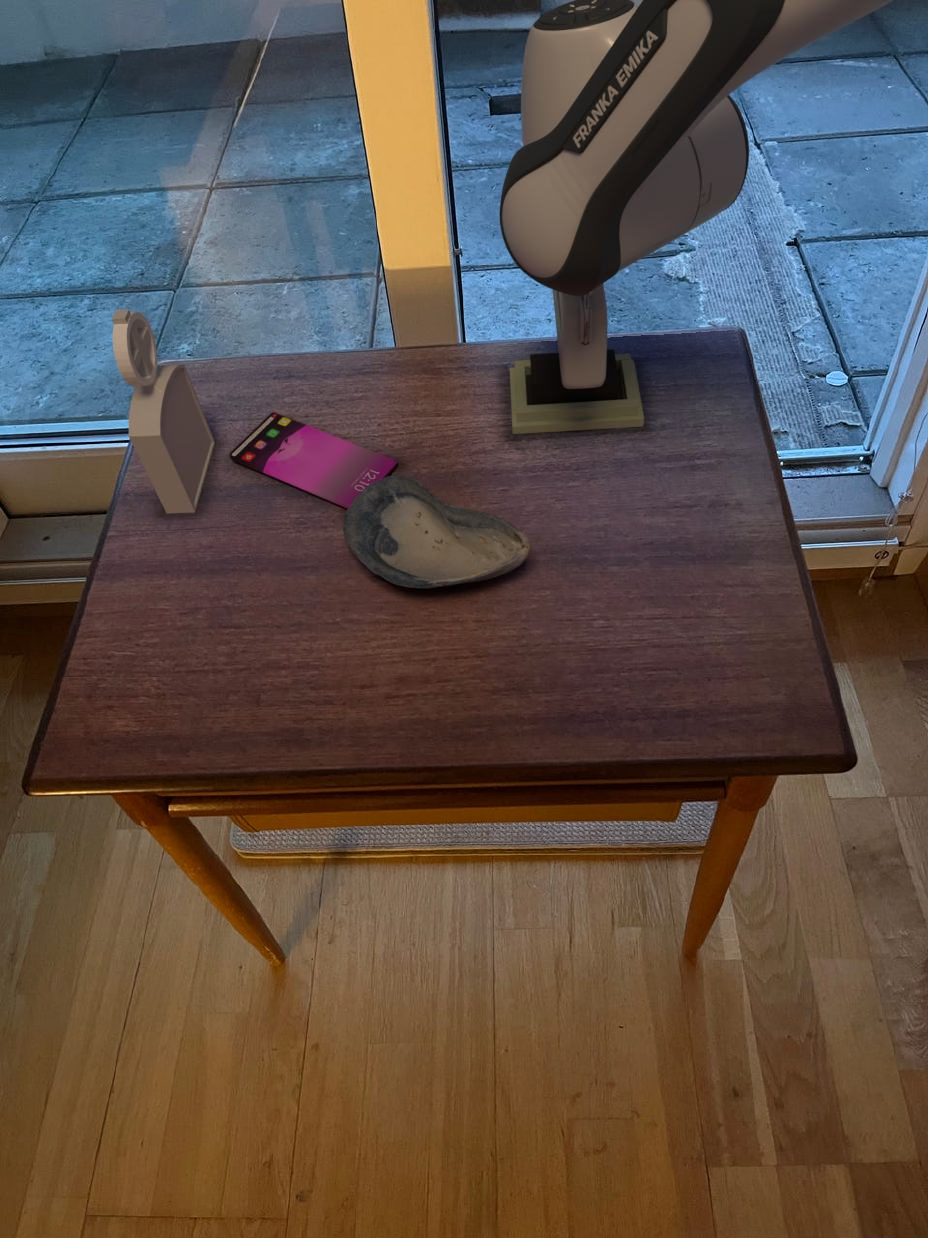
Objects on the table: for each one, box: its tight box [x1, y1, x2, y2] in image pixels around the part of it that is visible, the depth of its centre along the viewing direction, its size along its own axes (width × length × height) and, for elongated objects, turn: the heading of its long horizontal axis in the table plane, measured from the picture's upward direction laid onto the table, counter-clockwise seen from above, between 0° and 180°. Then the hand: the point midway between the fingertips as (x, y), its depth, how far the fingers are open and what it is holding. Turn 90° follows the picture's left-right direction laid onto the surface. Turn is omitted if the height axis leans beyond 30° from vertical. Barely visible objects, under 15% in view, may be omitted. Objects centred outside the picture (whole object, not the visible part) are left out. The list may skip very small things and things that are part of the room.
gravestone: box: [111, 308, 216, 515], centre depth 80 cm, size 3×9×18 cm, turn 178°
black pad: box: [529, 348, 619, 405], centre depth 87 cm, size 8×4×3 cm, turn 90°
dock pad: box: [509, 352, 645, 435], centre depth 89 cm, size 12×9×2 cm
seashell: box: [342, 475, 532, 589], centre depth 77 cm, size 15×12×5 cm
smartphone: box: [228, 411, 399, 510], centre depth 87 cm, size 7×15×1 cm, turn 59°
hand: (574, 363), depth 86 cm, fingers closed
